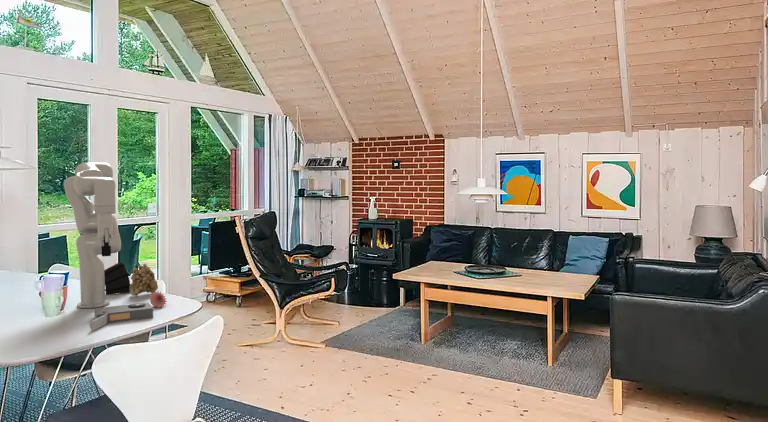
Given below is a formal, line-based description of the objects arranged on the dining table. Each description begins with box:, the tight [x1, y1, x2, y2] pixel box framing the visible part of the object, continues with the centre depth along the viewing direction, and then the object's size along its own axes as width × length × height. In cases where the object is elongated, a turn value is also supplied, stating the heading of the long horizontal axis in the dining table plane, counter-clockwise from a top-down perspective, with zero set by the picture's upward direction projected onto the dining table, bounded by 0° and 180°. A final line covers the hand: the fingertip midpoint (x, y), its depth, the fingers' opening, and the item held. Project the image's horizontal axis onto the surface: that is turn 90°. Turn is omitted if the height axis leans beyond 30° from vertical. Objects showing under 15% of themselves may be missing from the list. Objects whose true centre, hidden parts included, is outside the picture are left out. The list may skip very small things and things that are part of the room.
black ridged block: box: [104, 261, 131, 296], centre depth 273 cm, size 4×13×15 cm, turn 124°
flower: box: [149, 290, 168, 308], centre depth 245 cm, size 8×8×6 cm
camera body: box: [93, 301, 154, 324], centre depth 225 cm, size 12×20×4 cm, turn 121°
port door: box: [89, 314, 109, 332], centre depth 211 cm, size 2×11×4 cm, turn 179°
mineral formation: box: [129, 263, 159, 297], centre depth 269 cm, size 8×13×15 cm, turn 137°
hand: (106, 255), depth 224 cm, fingers closed
